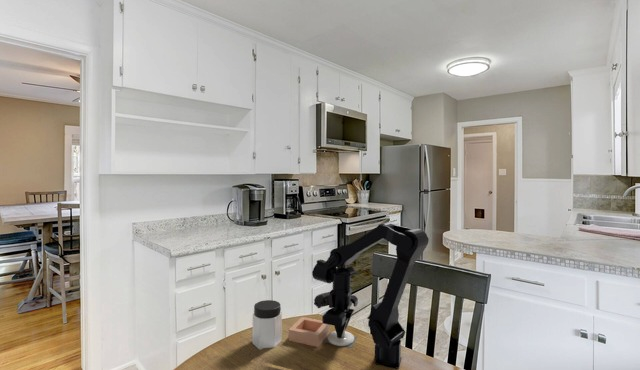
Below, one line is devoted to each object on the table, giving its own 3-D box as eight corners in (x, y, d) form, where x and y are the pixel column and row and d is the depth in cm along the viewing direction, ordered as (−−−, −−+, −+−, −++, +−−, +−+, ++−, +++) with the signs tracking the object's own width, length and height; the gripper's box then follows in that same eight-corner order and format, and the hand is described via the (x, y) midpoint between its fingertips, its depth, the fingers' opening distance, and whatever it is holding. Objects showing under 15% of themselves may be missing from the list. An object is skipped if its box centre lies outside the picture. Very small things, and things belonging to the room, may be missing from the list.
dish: (329, 333, 106) (329, 321, 105) (318, 348, 96) (318, 335, 96) (301, 328, 109) (301, 316, 109) (288, 342, 100) (288, 329, 100)
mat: (357, 338, 103) (357, 336, 103) (351, 349, 96) (351, 347, 96) (331, 333, 106) (331, 331, 106) (323, 343, 99) (323, 341, 99)
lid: (357, 335, 103) (357, 319, 103) (349, 348, 95) (350, 331, 95) (332, 331, 106) (332, 315, 106) (323, 342, 99) (324, 326, 98)
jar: (285, 344, 98) (286, 306, 98) (262, 353, 93) (263, 313, 93) (271, 333, 105) (271, 297, 105) (248, 341, 100) (248, 303, 100)
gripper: (327, 275, 112) (327, 319, 113) (306, 292, 95) (305, 344, 95) (358, 279, 108) (357, 324, 108) (342, 298, 91) (341, 352, 91)
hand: (340, 335), depth 101 cm, fingers closed on lid, 3 cm apart
